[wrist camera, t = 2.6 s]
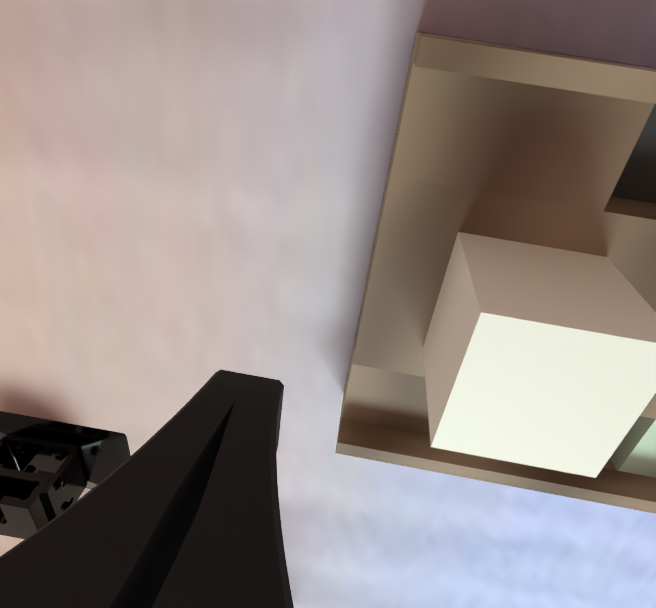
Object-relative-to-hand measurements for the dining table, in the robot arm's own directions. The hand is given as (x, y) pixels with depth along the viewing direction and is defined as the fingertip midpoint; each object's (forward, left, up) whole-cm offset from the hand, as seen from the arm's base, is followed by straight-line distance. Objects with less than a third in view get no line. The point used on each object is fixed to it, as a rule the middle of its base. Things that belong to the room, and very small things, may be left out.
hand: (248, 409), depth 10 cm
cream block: (-7, 0, -6) cm, 9 cm away
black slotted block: (+13, +15, -9) cm, 22 cm away
